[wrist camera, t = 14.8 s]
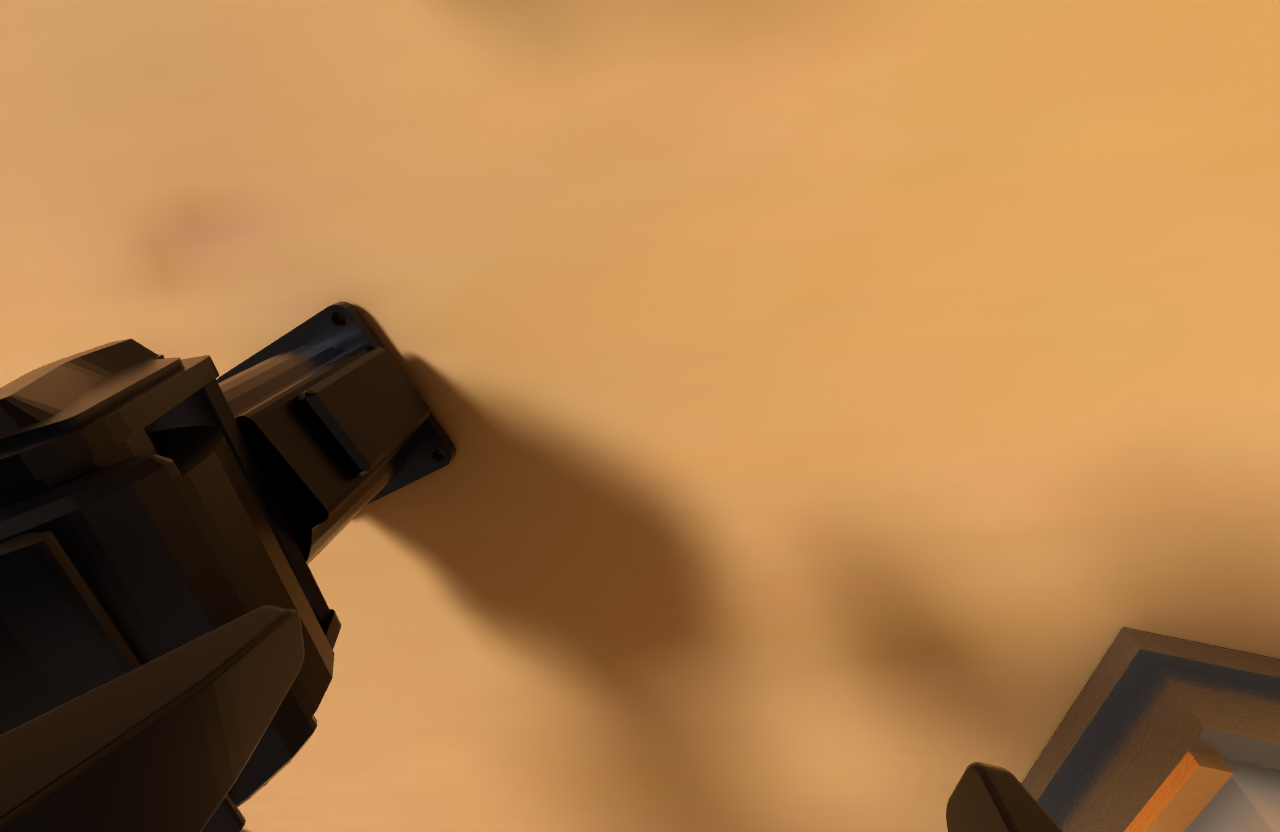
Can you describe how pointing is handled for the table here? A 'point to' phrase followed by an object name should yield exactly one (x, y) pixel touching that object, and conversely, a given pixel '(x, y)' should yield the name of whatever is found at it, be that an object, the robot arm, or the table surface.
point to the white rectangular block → (1243, 802)
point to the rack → (1157, 735)
